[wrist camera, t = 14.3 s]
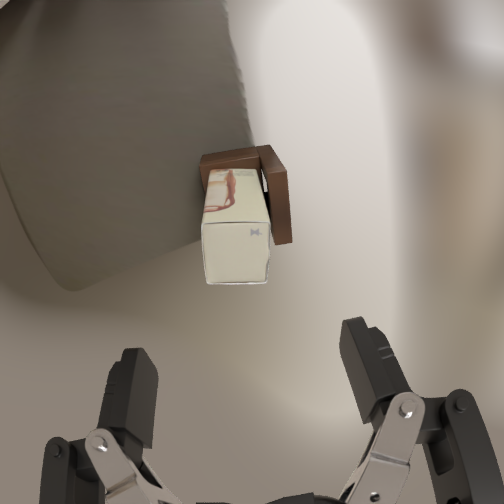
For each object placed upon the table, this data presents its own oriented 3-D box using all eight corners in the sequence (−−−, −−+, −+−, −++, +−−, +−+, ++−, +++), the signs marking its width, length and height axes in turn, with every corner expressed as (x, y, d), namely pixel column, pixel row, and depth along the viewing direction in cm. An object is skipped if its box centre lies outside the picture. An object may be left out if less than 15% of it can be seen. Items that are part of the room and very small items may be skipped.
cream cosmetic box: (208, 168, 25) (199, 218, 17) (257, 168, 26) (274, 217, 17) (210, 219, 28) (204, 287, 20) (255, 219, 29) (268, 285, 20)
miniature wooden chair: (202, 155, 29) (193, 185, 21) (269, 144, 28) (286, 170, 21) (213, 210, 32) (210, 255, 25) (276, 200, 32) (292, 242, 25)
